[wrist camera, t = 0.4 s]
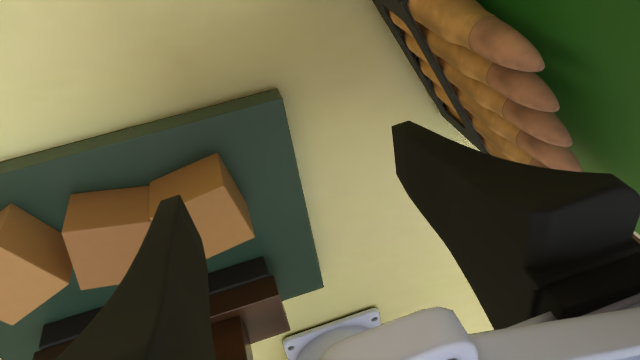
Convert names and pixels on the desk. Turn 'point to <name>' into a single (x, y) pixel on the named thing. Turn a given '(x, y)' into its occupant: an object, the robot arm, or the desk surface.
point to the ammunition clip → (482, 79)
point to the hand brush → (225, 312)
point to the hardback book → (588, 75)
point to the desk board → (159, 160)
